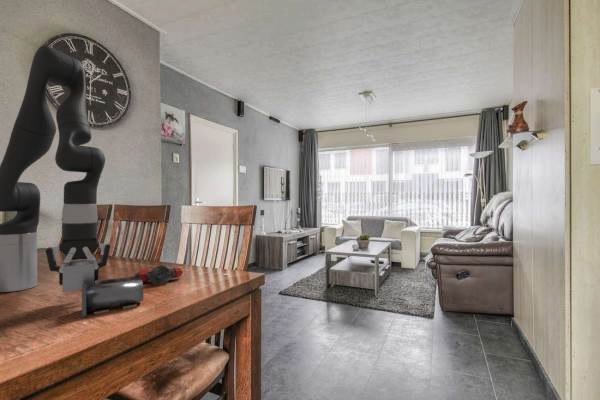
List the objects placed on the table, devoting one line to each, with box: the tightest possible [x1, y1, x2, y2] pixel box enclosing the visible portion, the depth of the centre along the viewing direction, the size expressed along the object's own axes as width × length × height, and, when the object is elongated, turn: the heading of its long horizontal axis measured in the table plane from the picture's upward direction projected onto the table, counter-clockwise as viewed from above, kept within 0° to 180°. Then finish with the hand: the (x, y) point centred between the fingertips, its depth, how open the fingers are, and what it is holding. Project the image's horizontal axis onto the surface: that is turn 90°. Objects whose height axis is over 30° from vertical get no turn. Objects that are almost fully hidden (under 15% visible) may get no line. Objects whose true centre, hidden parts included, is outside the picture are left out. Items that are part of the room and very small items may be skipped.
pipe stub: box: [81, 280, 144, 318], centre depth 75 cm, size 13×6×6 cm, turn 125°
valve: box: [94, 265, 183, 286], centre depth 100 cm, size 6×26×15 cm
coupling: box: [62, 258, 94, 293], centre depth 78 cm, size 8×6×6 cm
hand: (79, 284), depth 78 cm, fingers closed on coupling, 5 cm apart
